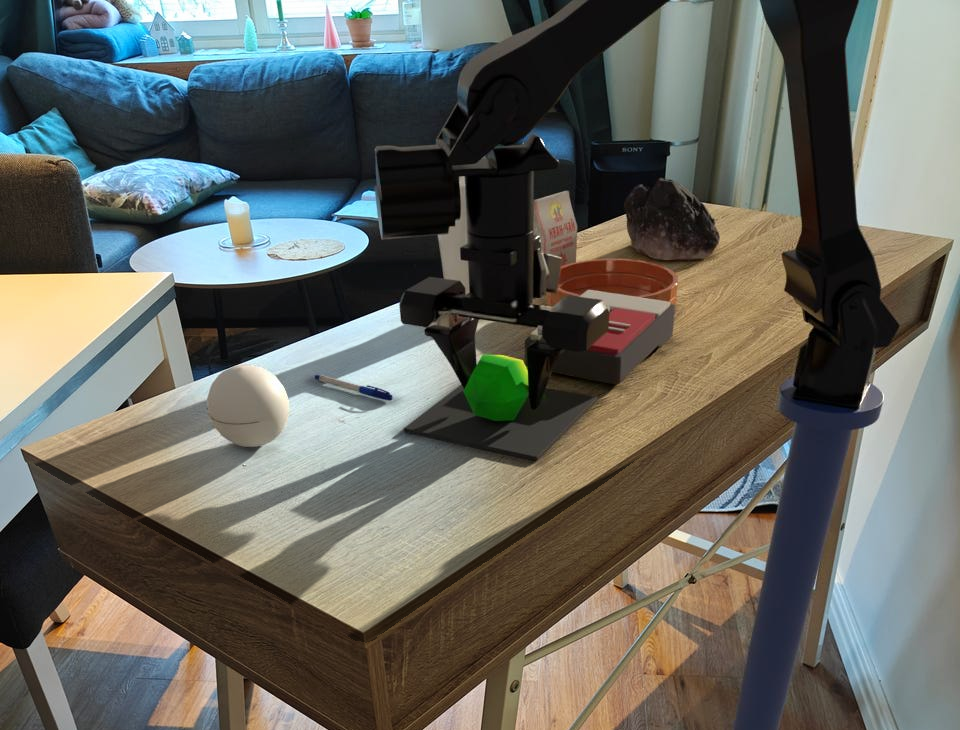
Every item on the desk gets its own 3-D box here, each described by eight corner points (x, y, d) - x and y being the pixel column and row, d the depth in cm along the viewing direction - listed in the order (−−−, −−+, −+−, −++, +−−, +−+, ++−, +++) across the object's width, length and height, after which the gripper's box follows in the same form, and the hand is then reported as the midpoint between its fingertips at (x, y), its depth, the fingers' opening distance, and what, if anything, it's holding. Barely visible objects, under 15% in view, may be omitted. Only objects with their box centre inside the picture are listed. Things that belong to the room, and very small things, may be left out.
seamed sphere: (266, 418, 88) (252, 345, 83) (310, 441, 84) (298, 365, 79) (175, 453, 83) (155, 377, 78) (218, 480, 78) (199, 401, 74)
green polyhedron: (477, 353, 79) (533, 320, 84) (438, 386, 84) (493, 353, 89) (522, 421, 80) (574, 385, 86) (480, 450, 85) (532, 414, 90)
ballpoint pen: (395, 399, 90) (394, 389, 90) (389, 402, 90) (388, 393, 89) (317, 379, 95) (316, 370, 95) (312, 382, 95) (310, 373, 94)
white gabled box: (522, 280, 119) (521, 198, 113) (554, 268, 123) (556, 188, 116) (543, 285, 117) (544, 203, 111) (575, 273, 121) (578, 192, 114)
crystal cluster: (734, 248, 129) (741, 171, 124) (700, 265, 120) (706, 182, 115) (648, 245, 136) (651, 171, 130) (609, 260, 126) (611, 182, 121)
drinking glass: (433, 321, 108) (424, 185, 98) (451, 303, 113) (444, 171, 103) (487, 325, 106) (483, 187, 97) (502, 306, 111) (500, 173, 102)
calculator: (522, 333, 93) (586, 283, 102) (523, 372, 95) (585, 320, 105) (619, 350, 88) (677, 297, 97) (617, 391, 91) (673, 335, 100)
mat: (597, 400, 89) (597, 396, 88) (537, 461, 79) (537, 457, 79) (474, 378, 94) (473, 374, 94) (403, 432, 85) (403, 428, 84)
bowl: (691, 295, 112) (695, 266, 110) (648, 337, 101) (651, 306, 99) (577, 281, 118) (578, 253, 116) (525, 318, 107) (525, 289, 105)
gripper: (637, 215, 78) (625, 386, 88) (451, 198, 85) (460, 357, 95) (587, 250, 70) (580, 432, 80) (388, 228, 78) (404, 398, 87)
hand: (503, 401), depth 86 cm, fingers closed on green polyhedron, 6 cm apart
